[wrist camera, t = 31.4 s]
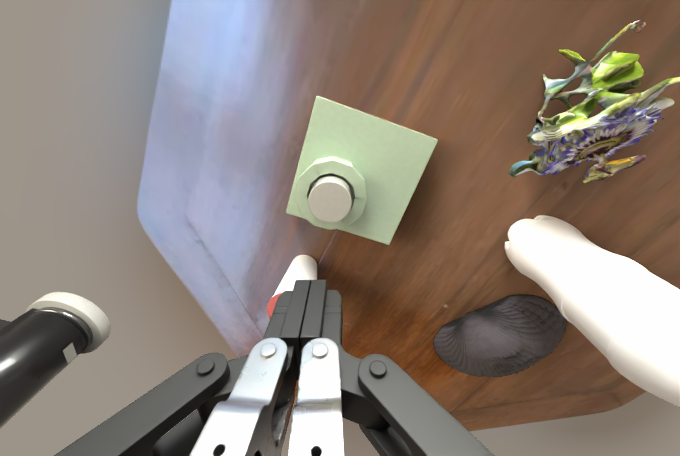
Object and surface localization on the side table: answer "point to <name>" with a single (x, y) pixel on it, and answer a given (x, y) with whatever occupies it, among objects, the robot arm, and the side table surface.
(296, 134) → the side table surface
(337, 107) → the green button box
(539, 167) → the passion flower
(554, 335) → the seashell
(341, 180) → the button
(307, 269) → the cup
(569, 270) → the water bottle
